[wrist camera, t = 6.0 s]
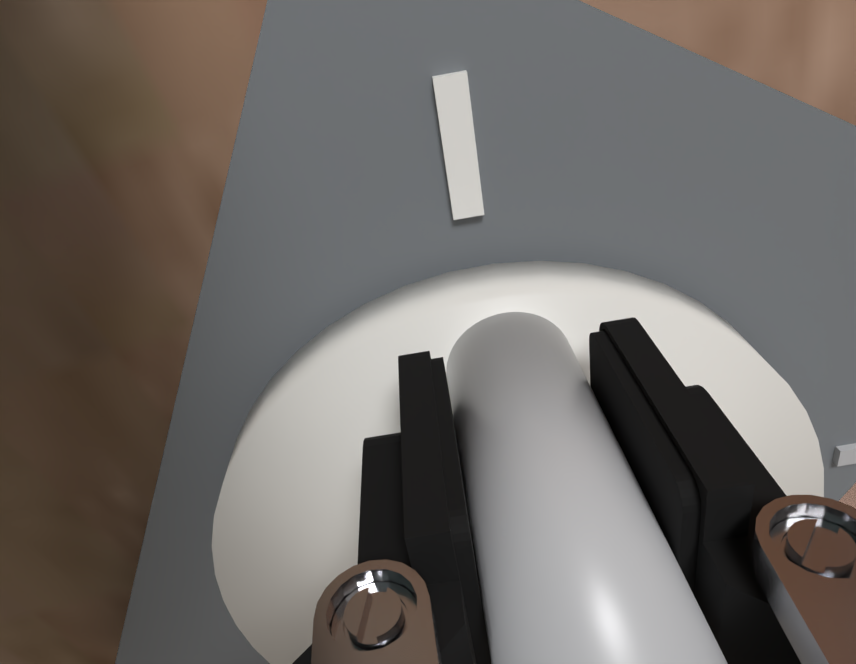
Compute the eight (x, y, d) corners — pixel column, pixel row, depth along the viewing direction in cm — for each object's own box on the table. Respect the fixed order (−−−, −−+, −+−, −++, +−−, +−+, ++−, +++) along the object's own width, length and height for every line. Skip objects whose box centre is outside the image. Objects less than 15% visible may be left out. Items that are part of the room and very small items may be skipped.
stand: (589, 726, 25) (602, 774, 23) (124, 651, 21) (104, 704, 19) (1032, 211, 15) (1105, 237, 13) (307, -116, 11) (295, -130, 9)
